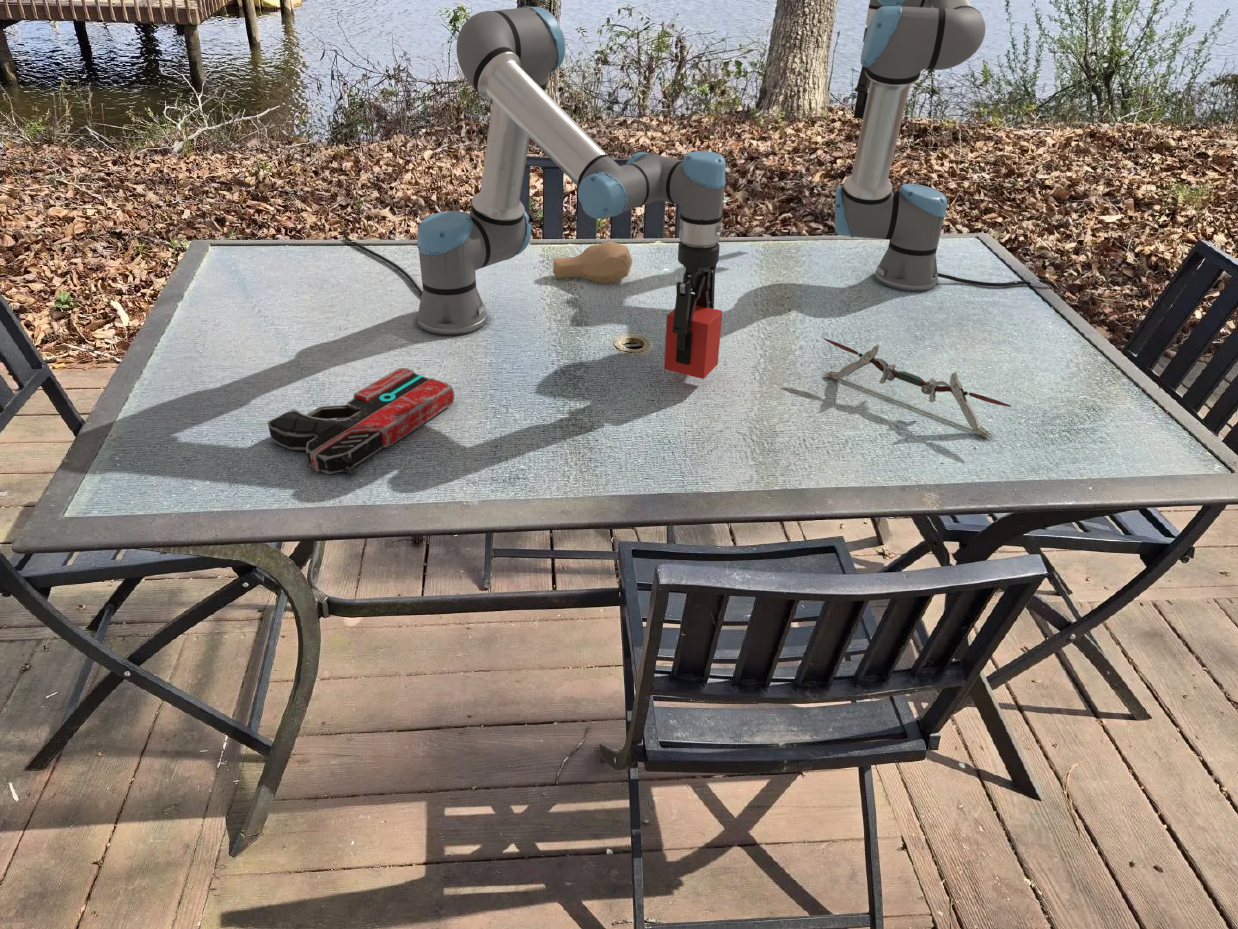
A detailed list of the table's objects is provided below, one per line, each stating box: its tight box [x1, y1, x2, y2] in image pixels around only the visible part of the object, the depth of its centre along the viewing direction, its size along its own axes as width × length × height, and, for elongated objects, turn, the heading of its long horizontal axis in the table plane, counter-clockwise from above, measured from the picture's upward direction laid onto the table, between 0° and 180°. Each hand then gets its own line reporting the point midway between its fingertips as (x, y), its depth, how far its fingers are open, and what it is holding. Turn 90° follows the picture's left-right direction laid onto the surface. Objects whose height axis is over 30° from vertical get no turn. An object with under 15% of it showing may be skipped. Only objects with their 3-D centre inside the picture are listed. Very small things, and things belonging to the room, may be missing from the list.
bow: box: [822, 337, 1012, 438], centre depth 167 cm, size 39×2×10 cm, turn 47°
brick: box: [663, 305, 723, 380], centre depth 171 cm, size 7×8×12 cm
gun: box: [266, 367, 456, 475], centre depth 158 cm, size 4×31×19 cm
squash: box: [552, 240, 633, 284], centre depth 218 cm, size 11×20×9 cm, turn 90°
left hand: (691, 354), depth 173 cm, fingers closed on brick, 7 cm apart
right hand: (865, 113), depth 239 cm, fingers open, 13 cm apart
